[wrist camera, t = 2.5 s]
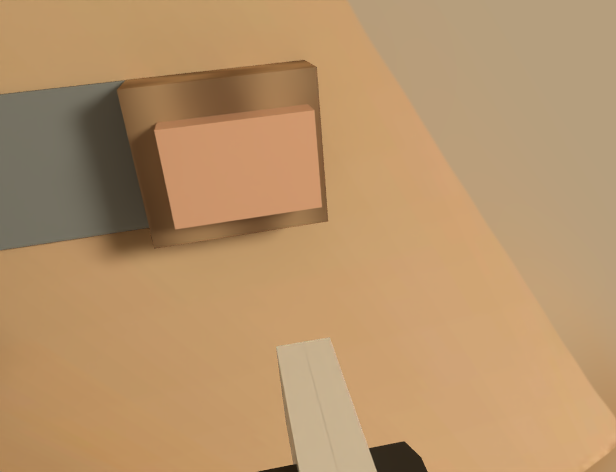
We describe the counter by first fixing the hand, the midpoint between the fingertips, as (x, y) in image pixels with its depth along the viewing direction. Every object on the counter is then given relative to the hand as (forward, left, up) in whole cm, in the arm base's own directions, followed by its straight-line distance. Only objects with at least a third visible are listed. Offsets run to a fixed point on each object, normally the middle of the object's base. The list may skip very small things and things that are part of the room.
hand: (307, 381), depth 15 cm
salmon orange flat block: (-1, +1, -20) cm, 20 cm away
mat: (-11, -6, -24) cm, 27 cm away
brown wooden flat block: (-1, 0, -24) cm, 24 cm away
